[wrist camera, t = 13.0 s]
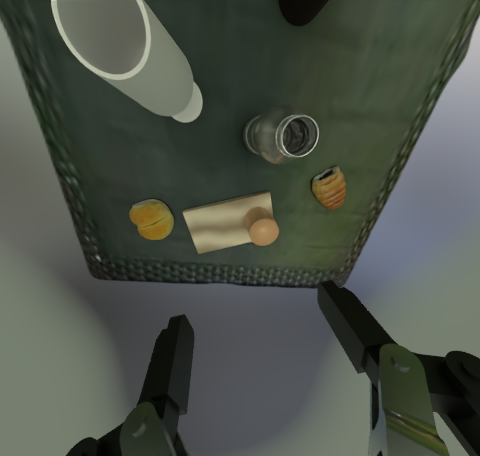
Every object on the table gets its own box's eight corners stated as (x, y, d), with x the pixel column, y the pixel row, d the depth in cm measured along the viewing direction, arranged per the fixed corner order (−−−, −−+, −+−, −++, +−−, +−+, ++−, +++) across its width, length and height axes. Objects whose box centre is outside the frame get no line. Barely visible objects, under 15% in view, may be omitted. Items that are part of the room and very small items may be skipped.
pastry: (346, 197, 43) (357, 203, 39) (320, 212, 44) (328, 219, 41) (334, 162, 39) (345, 165, 35) (306, 180, 40) (313, 184, 37)
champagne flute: (155, 105, 31) (14, 40, 10) (172, 63, 29) (42, -140, 7) (190, 131, 33) (141, 125, 12) (210, 94, 31) (191, 6, 10)
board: (183, 209, 40) (182, 212, 38) (268, 190, 40) (270, 192, 38) (199, 250, 45) (198, 253, 44) (273, 233, 45) (275, 236, 44)
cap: (242, 210, 40) (246, 223, 34) (268, 204, 40) (277, 216, 34) (247, 233, 42) (252, 248, 37) (271, 227, 42) (280, 242, 37)
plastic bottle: (268, 158, 37) (314, 181, 19) (236, 147, 35) (254, 160, 17) (281, 124, 34) (348, 112, 16) (247, 109, 32) (282, 80, 15)
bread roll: (147, 239, 42) (141, 249, 39) (127, 204, 38) (117, 211, 35) (181, 230, 42) (178, 239, 39) (164, 194, 38) (159, 200, 34)
